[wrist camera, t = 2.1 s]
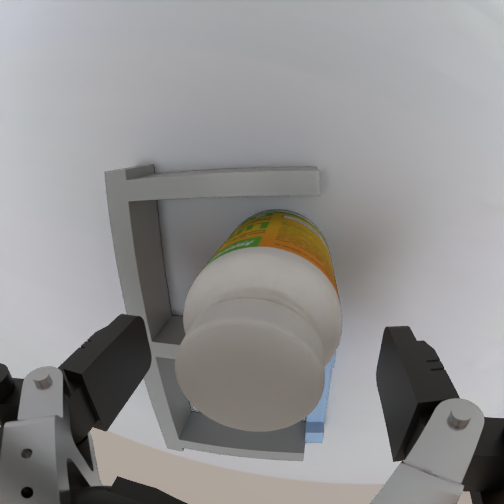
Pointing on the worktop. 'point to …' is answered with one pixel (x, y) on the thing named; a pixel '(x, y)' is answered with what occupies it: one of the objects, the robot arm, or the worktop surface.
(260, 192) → the grey two-tier shelf
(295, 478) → the worktop surface
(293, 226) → the supplement bottle
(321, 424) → the light blue flat bar
